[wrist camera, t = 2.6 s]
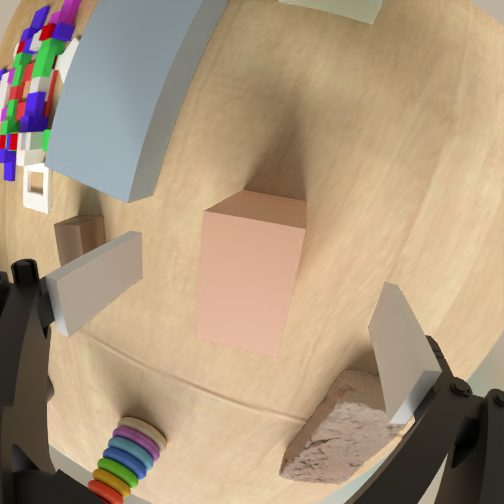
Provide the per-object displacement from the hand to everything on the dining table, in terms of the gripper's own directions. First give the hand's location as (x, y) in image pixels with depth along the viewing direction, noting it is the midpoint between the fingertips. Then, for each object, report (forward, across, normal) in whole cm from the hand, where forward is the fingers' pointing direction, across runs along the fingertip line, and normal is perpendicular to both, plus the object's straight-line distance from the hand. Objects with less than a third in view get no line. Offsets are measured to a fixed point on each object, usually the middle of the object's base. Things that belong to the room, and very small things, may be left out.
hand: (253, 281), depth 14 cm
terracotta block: (+7, 0, 0) cm, 7 cm away
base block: (+7, -12, +13) cm, 19 cm away
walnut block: (+7, -16, -4) cm, 18 cm away
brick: (+7, +11, -19) cm, 23 cm away
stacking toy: (+7, -13, -32) cm, 36 cm away
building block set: (+7, -29, +12) cm, 33 cm away
